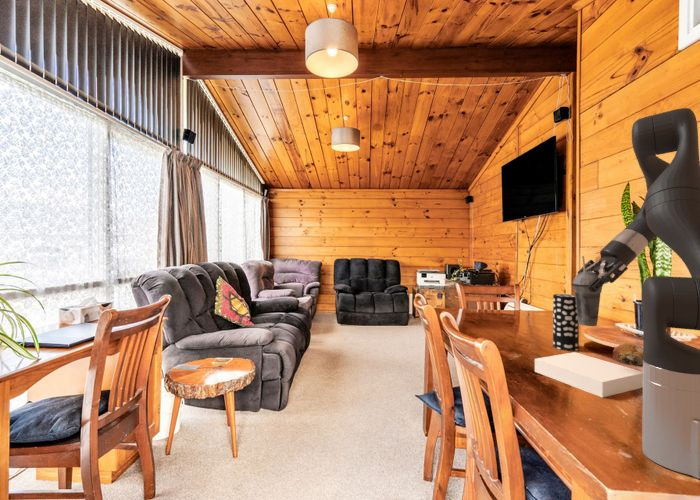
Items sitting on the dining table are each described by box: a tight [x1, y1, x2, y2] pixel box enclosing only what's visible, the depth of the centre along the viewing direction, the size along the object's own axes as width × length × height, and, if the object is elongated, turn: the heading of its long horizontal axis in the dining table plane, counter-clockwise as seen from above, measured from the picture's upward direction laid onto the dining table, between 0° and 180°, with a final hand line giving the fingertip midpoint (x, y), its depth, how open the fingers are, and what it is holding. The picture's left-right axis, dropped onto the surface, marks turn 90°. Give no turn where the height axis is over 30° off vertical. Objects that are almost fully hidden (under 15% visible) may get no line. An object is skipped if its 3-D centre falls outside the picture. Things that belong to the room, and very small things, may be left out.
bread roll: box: [612, 342, 643, 367], centre depth 117 cm, size 10×10×8 cm
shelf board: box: [534, 351, 643, 399], centre depth 101 cm, size 20×18×4 cm
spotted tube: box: [552, 293, 580, 352], centre depth 133 cm, size 8×8×20 cm
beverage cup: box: [572, 255, 604, 327], centre depth 101 cm, size 7×7×20 cm
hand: (582, 288), depth 101 cm, fingers closed on beverage cup, 7 cm apart
